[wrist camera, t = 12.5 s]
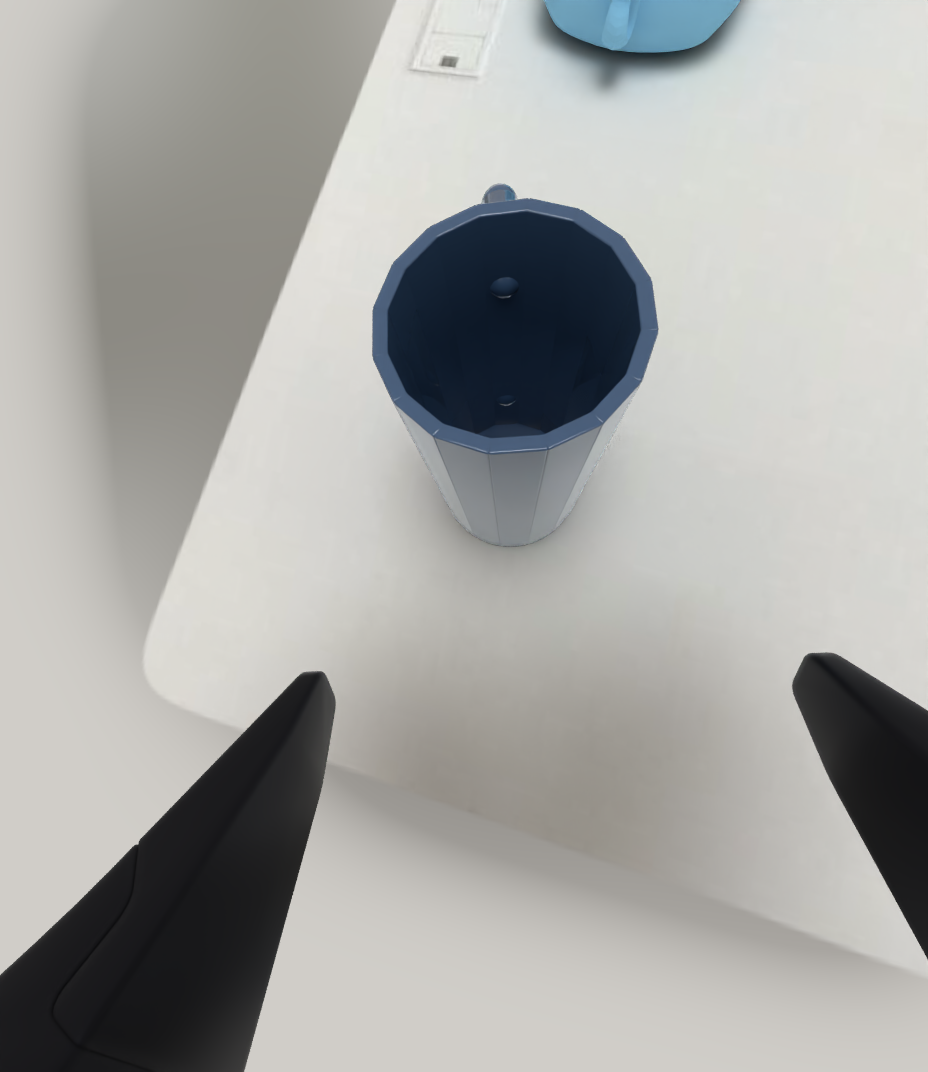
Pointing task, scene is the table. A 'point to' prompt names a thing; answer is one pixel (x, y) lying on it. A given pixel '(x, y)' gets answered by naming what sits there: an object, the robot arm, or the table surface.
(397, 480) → the table surface
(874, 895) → the table surface
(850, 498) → the table surface
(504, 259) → the mug
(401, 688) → the table surface
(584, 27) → the teapot
